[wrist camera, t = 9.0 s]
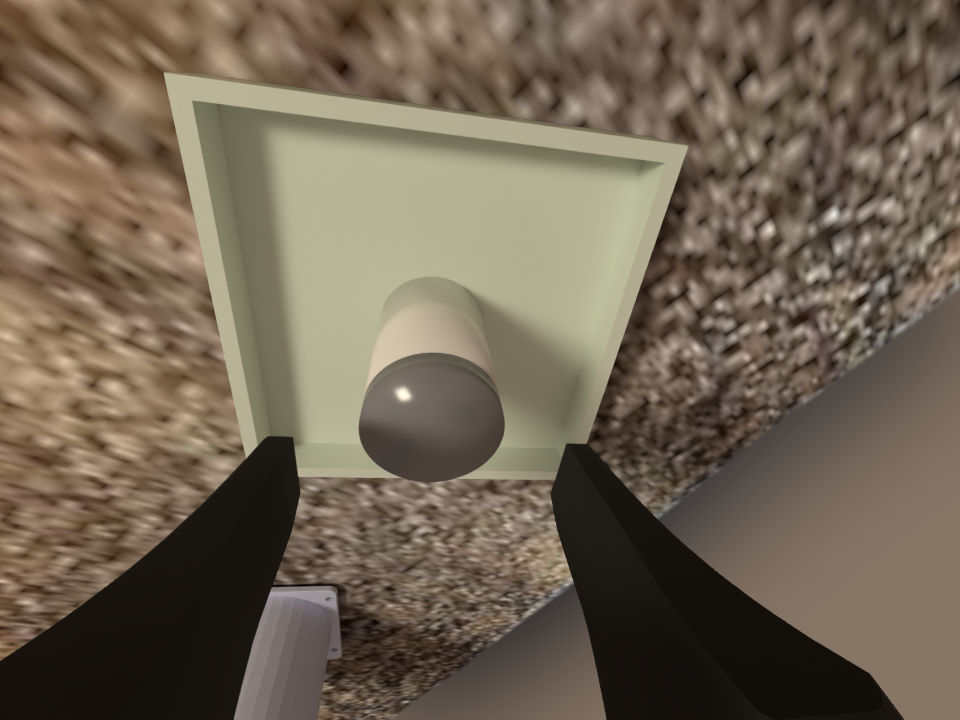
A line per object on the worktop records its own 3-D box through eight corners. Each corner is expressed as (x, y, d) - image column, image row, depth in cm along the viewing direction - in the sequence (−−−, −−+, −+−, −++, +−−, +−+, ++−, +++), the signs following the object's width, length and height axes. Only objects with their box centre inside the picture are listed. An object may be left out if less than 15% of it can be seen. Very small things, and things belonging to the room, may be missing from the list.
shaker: (479, 364, 20) (500, 478, 15) (384, 367, 20) (366, 485, 14) (483, 275, 18) (509, 369, 12) (375, 276, 18) (349, 373, 12)
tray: (561, 446, 25) (574, 479, 23) (266, 439, 23) (249, 476, 21) (655, 137, 17) (688, 145, 15) (202, 73, 14) (163, 72, 12)
